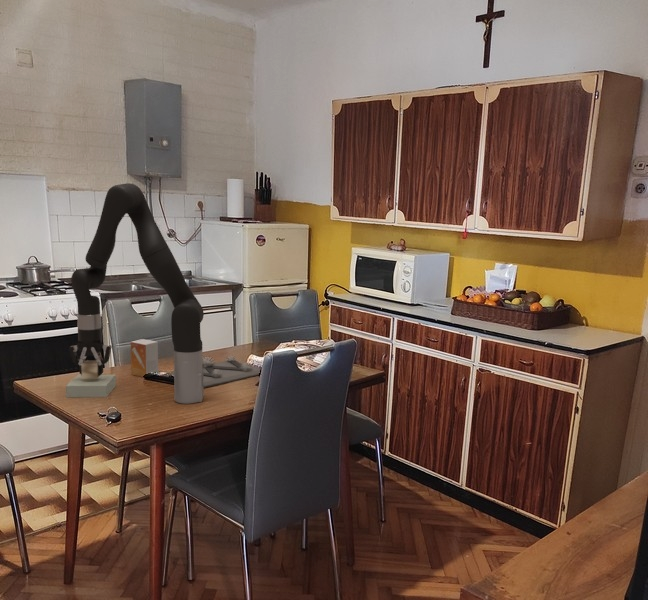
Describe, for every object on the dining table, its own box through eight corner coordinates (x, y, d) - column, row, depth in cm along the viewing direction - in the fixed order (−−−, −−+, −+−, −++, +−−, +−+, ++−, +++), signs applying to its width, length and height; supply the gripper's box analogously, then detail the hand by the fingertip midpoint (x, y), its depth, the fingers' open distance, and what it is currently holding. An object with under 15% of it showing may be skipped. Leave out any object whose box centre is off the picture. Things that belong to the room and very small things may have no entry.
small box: (131, 374, 221) (130, 341, 219) (143, 371, 226) (142, 338, 224) (146, 378, 217) (145, 344, 215) (158, 374, 223) (158, 341, 220)
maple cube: (101, 374, 202) (100, 360, 202) (97, 378, 197) (96, 364, 197) (86, 374, 202) (85, 360, 201) (81, 378, 197) (81, 364, 196)
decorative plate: (200, 391, 205) (200, 371, 204) (168, 377, 220) (168, 359, 219) (265, 375, 227) (265, 357, 226) (232, 364, 242) (232, 347, 240)
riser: (116, 385, 208) (115, 374, 207) (106, 397, 195) (106, 385, 194) (78, 385, 206) (77, 374, 206) (66, 397, 193) (65, 385, 193)
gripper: (114, 324, 201) (115, 372, 204) (71, 324, 200) (73, 372, 203) (108, 329, 194) (110, 378, 197) (64, 328, 193) (66, 378, 195)
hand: (91, 374), depth 200 cm, fingers closed on maple cube, 5 cm apart
